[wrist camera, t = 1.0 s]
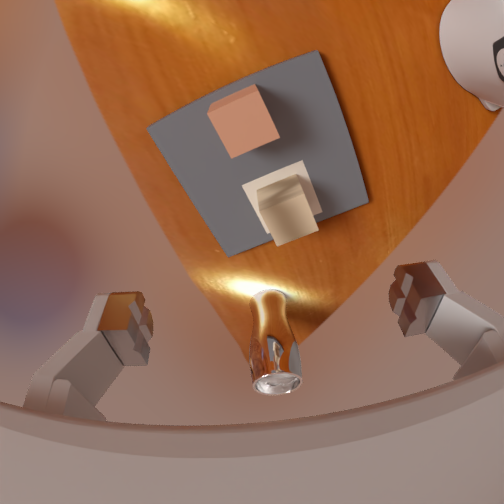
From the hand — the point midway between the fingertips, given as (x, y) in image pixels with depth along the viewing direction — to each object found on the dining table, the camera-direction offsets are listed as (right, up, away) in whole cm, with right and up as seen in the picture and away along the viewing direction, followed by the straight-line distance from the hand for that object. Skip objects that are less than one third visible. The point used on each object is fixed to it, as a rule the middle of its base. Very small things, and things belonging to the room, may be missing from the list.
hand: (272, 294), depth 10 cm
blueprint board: (+1, +12, +26) cm, 28 cm away
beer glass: (+2, -7, +40) cm, 41 cm away
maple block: (+3, +8, +28) cm, 29 cm away
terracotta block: (-2, +16, +21) cm, 26 cm away
